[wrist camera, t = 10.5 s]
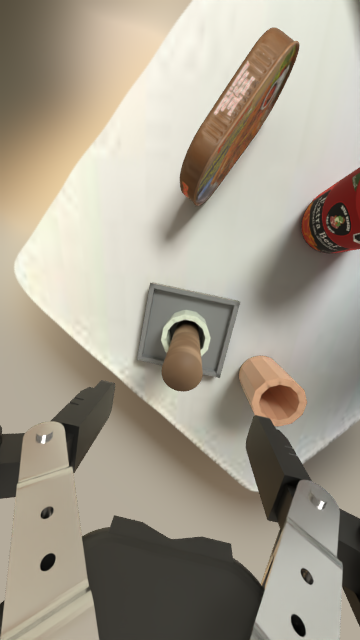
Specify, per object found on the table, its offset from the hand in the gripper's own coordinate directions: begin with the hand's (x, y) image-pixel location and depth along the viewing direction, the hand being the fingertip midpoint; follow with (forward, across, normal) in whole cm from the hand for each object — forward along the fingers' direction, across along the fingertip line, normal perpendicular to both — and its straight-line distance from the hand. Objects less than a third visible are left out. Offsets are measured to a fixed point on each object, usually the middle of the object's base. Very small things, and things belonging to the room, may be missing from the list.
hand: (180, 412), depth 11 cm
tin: (+19, 0, -23) cm, 30 cm away
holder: (+18, 0, 0) cm, 18 cm away
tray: (+18, 0, 0) cm, 19 cm away
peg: (+18, 0, 0) cm, 18 cm away
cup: (+19, -12, +4) cm, 22 cm away
